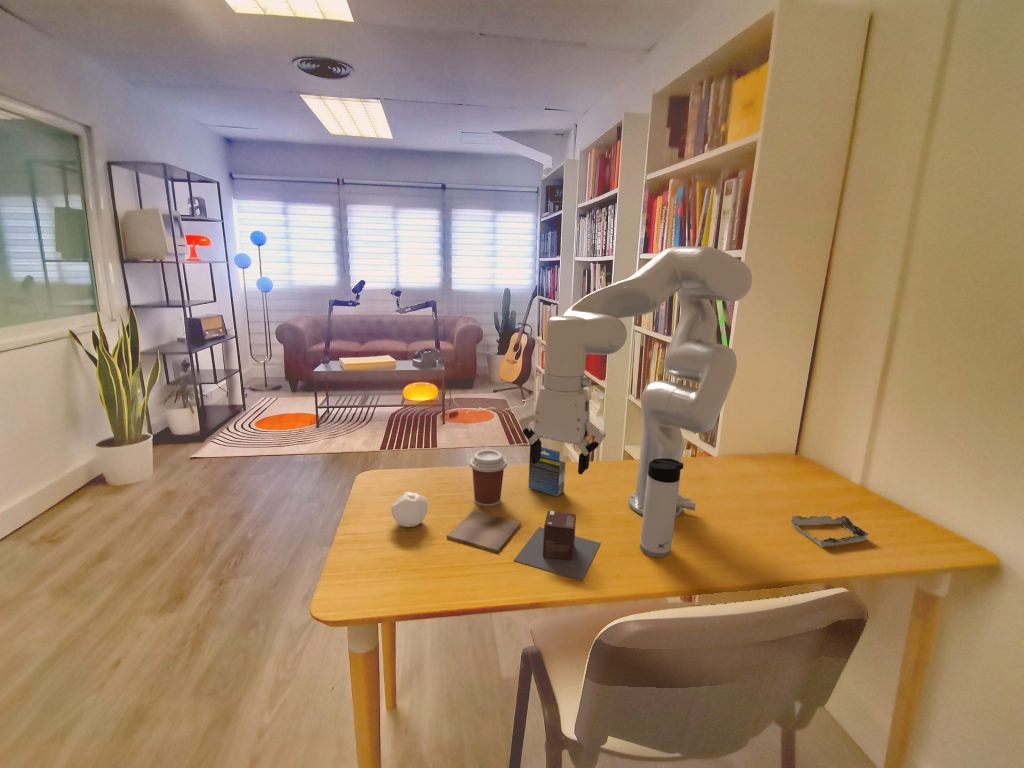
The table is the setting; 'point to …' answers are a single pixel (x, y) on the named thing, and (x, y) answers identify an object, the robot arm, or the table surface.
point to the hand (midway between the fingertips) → (558, 466)
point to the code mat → (569, 568)
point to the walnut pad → (484, 531)
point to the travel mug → (660, 507)
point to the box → (559, 535)
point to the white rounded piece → (410, 509)
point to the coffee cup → (487, 476)
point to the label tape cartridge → (547, 473)
